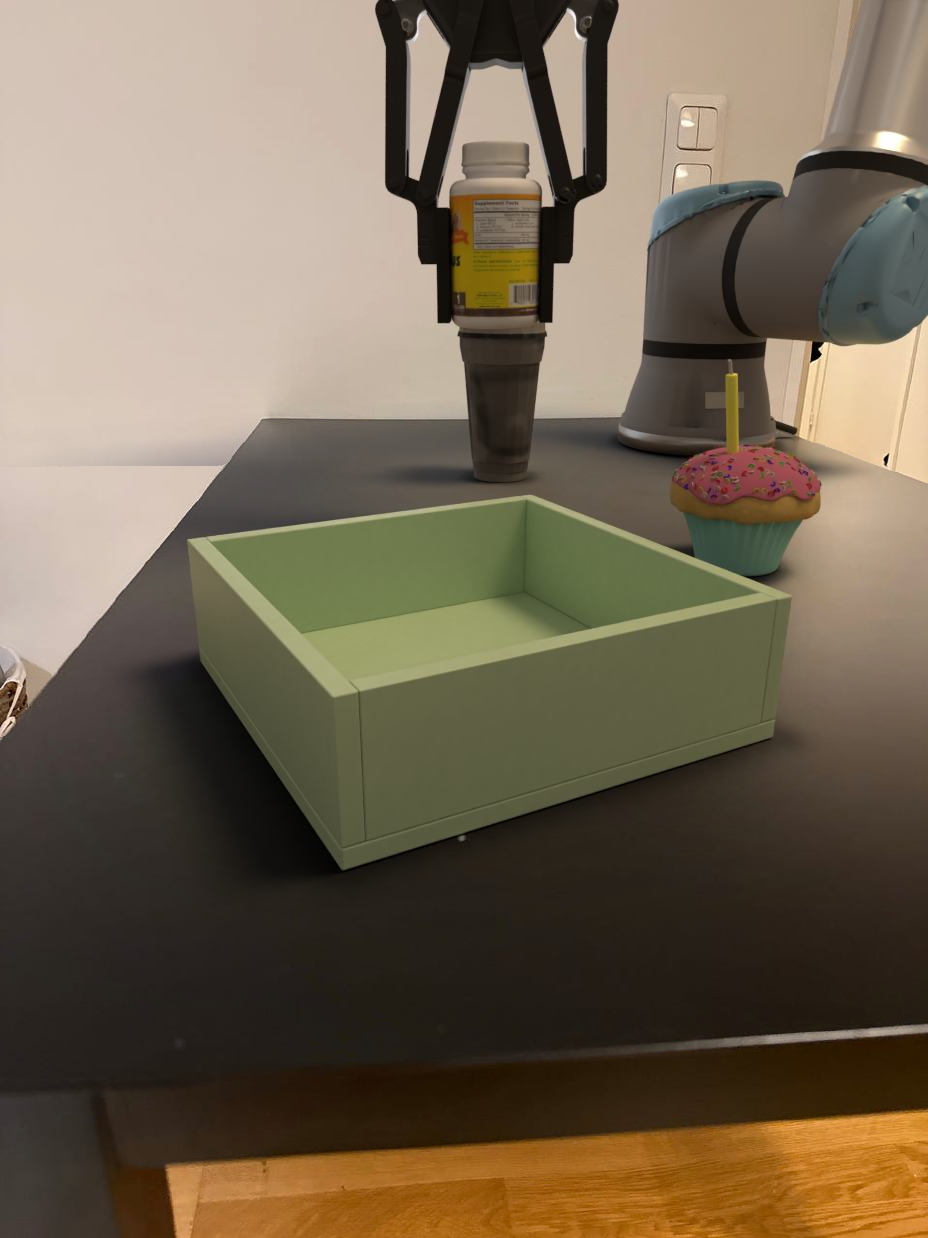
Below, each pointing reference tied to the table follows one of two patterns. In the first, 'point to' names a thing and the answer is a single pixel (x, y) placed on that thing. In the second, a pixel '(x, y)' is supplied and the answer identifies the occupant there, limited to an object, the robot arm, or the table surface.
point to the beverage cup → (501, 397)
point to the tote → (477, 663)
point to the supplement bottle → (495, 238)
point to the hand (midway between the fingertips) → (494, 320)
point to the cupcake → (743, 499)
